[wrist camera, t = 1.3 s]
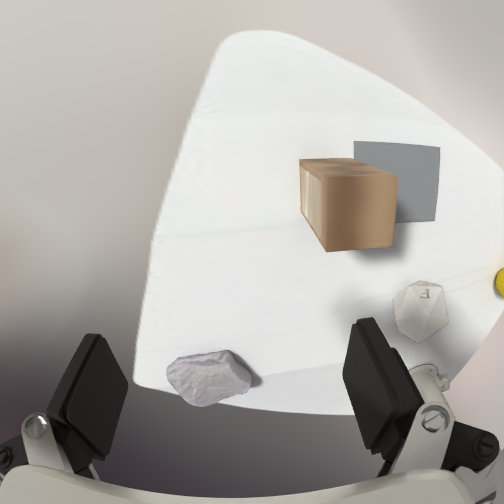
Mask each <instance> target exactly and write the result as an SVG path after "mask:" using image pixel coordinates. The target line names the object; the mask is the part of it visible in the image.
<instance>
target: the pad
mask: <svg viewBox="0 0 504 504" xmlns="http://www.w3.org/2000/svg"><path fill="white" fill-rule="evenodd" d="M354 160H357V161H359V162H362V163H365V164H368V165H370V166H373V167H376V168H378V169H381V170H383V171H386V172H388V173H391V174H393V175H396V176H398V188H397V203H396V215H395V223H398V222H417V221H434V220H435V212H436V204H437V194H438V182H439V166H440V147H432V146H423V145H412V144H400V143H385V142H363V141H354Z"/></svg>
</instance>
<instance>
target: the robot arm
mask: <svg viewBox="0 0 504 504" xmlns="http://www.w3.org/2000/svg"><path fill="white" fill-rule="evenodd" d="M343 380H344V383H345V386H346V389H347V392H348V395H349V398H350V401H351V404H352V407H353V410H354V413H355V416H356V419H357V422H358V426H359V429H360V432H361V435H362V438H363V441H364V445H365V447H366V449H370V450H371V453H372V455H373V454H376V453H380V452H381V455H382V458H383V459H384V462H383V464H382V466H381V467H380V469H379V471H378V473H377V475H376V477H375V479H371V480H367V481H363V482H359V483H355V484H350V485H346V486H341V487H336V488H331V489H325V490H320V491H314V492H307V493H301V494H293V495H284V496H274V497H260V498H259V497H258V498H202V497H188V496H177V495H169V494H161V493H154V492H148V491H142V490H136V489H131V488H125V487H121V486H117V485H113V484H108V483H105V482H101V481H100V480H99V478H98V476H97V474H96V472H95V470H94V468H93V466H92V464H91V461H92V458H94V459H97V460H102V461H104V460H105V456H106V455H108V454H109V452H110V448H111V445H112V441H113V438H114V434H115V430H116V427H117V423H118V420H119V417H120V413H121V410H122V406H123V403H124V400H125V397H126V394H127V390H128V382H127V380H126V378H125V376H124V374H123V372H122V371H121V369H120V367H119V365H118V363H117V361H116V359H115V357H114V355H113V353H112V351H111V349H110V347H109V345H108V343H107V341H106V339H105V338H103V337H102V335H100V334H89V333H88V334H86V335H85V336H84V338H83V340H82V342H81V343H80V345H79V347H78V349H77V351H76V352H75V354H74V356H73V358H72V360H71V362H70V363H69V365H68V367H67V369H66V371H65V373H64V375H63V377H62V379H61V381H60V383H59V385H58V387H57V389H56V391H55V393H54V395H53V397H52V400H51V401H50V404H49V406H48V408H47V410H46V412H47V413H48V414H47V416H45V415H44V414H42V413H34V414H31V415H30V416H28V417H27V418H26V419H25V421H24V422H23V425H22V434H20V435H18V436H16V437H14V438H13V439H10V440H8V441H6V442H4V443H2V444H0V504H504V449H502V450H501V449H499V441H498V440H497V438H496V436H495V435H494V434H492V433H490V432H488V431H484V430H481V429H478V428H475V427H472V426H469V425H466V424H463V423H460V422H457V420H456V418H455V416H454V414H453V412H452V411H451V409H450V407H449V405H448V403H447V401H446V399H445V397H444V396H443V394H442V392H444V391H446V390H448V389H449V387H450V385H449V378H448V377H446V378H444V379H442V380H440V379H439V378H438V370H437V369H436V367H435V366H434V365H430V364H426V365H421V366H418V367H415V368H413V369H411V370H409V371H408V369H407V367H406V366H405V364H404V362H403V360H402V358H401V356H400V355H399V353H398V351H397V350H396V349H395V348H391V347H390V346H389V344H388V342H387V340H386V338H385V337H384V335H383V333H382V331H381V330H380V328H379V326H378V324H377V323H376V321H375V319H374V318H373V317H370V318H363V319H358V320H357V322H356V324H353V325H352V329H351V334H350V339H349V344H348V349H347V354H346V358H345V363H344V367H343ZM474 502H475V503H474Z"/></svg>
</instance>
